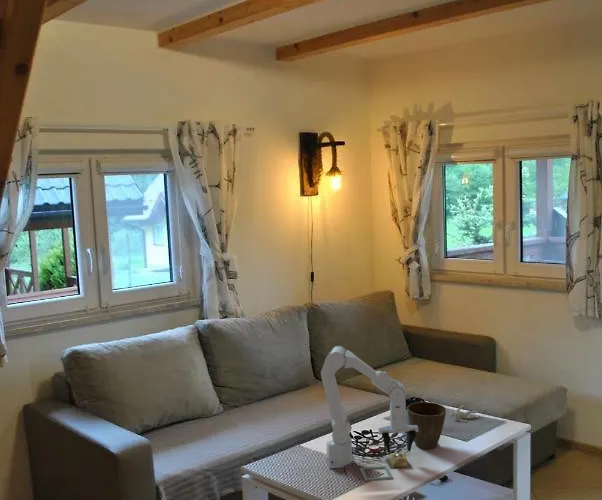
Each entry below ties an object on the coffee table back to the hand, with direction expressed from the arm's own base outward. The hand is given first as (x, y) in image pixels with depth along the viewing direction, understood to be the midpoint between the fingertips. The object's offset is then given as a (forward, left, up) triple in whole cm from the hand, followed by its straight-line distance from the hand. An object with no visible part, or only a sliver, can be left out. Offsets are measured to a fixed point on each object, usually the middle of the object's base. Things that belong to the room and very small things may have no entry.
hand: (398, 451), depth 262 cm
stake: (0, 0, -6) cm, 6 cm away
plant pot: (+15, +15, -6) cm, 22 cm away
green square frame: (-10, -7, -6) cm, 14 cm away
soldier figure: (+40, +42, -6) cm, 58 cm away
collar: (0, 0, -5) cm, 5 cm away
